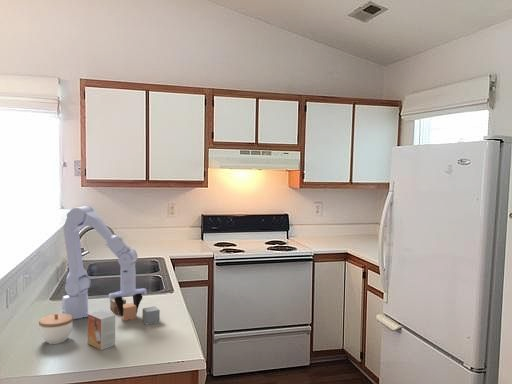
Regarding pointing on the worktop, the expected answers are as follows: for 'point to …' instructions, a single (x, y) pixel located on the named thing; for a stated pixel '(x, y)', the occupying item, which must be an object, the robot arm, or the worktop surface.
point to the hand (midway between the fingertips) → (128, 314)
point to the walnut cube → (115, 305)
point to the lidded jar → (56, 327)
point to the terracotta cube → (129, 311)
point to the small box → (101, 329)
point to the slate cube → (151, 315)
